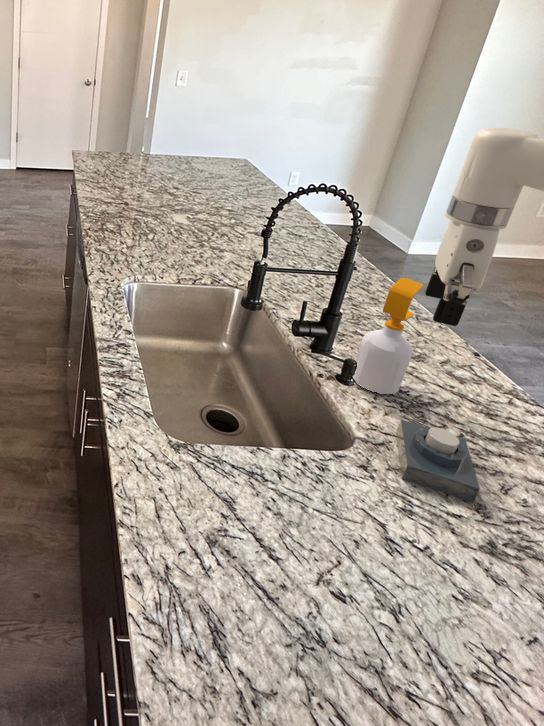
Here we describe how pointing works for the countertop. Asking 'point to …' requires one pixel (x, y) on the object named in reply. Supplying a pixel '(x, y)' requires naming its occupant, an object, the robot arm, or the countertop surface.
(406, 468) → the push button base
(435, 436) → the flush button
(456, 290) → the robot arm
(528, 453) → the countertop surface
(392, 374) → the soap bottle
